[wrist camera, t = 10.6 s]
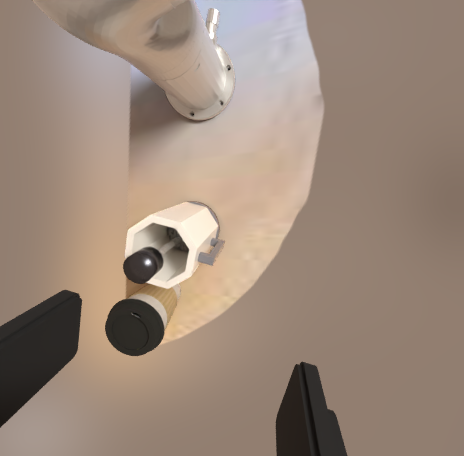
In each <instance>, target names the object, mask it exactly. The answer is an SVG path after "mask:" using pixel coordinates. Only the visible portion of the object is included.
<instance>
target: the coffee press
mask: <svg viewBox="0 0 464 456" xmlns="http://www.w3.org/2000/svg"><path fill="white" fill-rule="evenodd" d="M168 227H171V228H175V229H176V230H177V231H178V233H179V234H180V236H181V237H182V239H183V240H184V242H185V243H186V245H187V247H188V248H189V251H183V250H180V249H178V248H177V247H175V246H174V247H172V248H171V249H170V250H169V251H167V252H166V253H165V254H164V255H162V257H163V261H164V263H163V267H162V269H161V270H160V271H159V272H158V273H156V274H155V275H154V276H153V277H152V278H151V279H150V280H149V281H148V282H146V283H149V284H153V285H156V286H159V287H163V288H166V289H169V288H171V287H172V286H174V285H176V284H178V283H180V282H182V281H183V280H185V279H187V278H189V277H191V276H192V274H193V273H194V272H195V270H196V269H197V267H198V266H199V265H200V263H205V264H208V265H212V266H213V264H214V262H215V261H216V259H217V257H218V256H219V254H220V252H221V251H222V249H223V247H224V243H225V241H223V240H219V239H218V236H219V230H220V227H219V221H218V219H217V216H216V215H215V213H214V212H213V211H212V209H211V208H209V207H208V206H207V205H205V204H203V203H200V202H196V201H188V202H184V203H181V204H179V205H176V206H173V207H171V208H168V209H165V210H162V211H160V212H157V213H154V214H151V215H149V216H148V217H146V218H145V219H143V220H142V221H140V222H139V223H137V224H136V225H134V226H133V227H131V228H130V229H128V232H127V240H126V248H125V259H126V258H127V257H129V256H130V255H132V254H133V253H135V252H137V251H138V250H140V249H142V248H144V247H153V248H155V249H157V250H158V249H160V248H161V247H163V246H164V245H165V244H167V243H168V242H170V241H171V240H170V238H169V235H168ZM213 246H214V248H213V249H212V247H213ZM211 249H212V251H211V252H210V254H208V253H209V251H210V250H211Z"/></svg>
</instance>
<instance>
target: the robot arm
mask: <svg viewBox="0 0 464 456" xmlns="http://www.w3.org/2000/svg"><path fill="white" fill-rule="evenodd" d="M32 1H33V2H34V3H35V4H36V5H37V6H38V7H39V8H40V9H41V10H42V11H43V12H44V13H45V14H46V15H47V16H48V17H49V18H50V19H52V20H53V21H54V22H55V23H57V24H58V25H59V26H60V27H62V28H63V29H64V30H66V31H67V32H69V33H70V34H72V35H74V36H75V37H77V38H79V39H80V40H82V41H84V42H86V43H88V44H90V45H92V46H94V47H97V48H99V49H101V50H104V51H107V52H109V53H112V54H115V55H118V56H119V57H121V58H123V59H125V60H126V61H128V62H129V63H130V64H132V65H133V66H134V67H136V68H137V69H138V70H140V71H141V72H142V73H143V74H144V75H146V76H147V77H148V78H150V79H151V80H152V81H153V82H155V83H156V84H157V85H159V86H160V87H161V88H162V89H164V90H165V94H166V96H167V99H168V101H169V102H170V104H171V105H172V107H173V108H174V109H175V110H176V111H177V112H178V113H180V114H181V115H183V116H185V117H187V118H189V119H192V120H207V119H210V118H213V117H215V116H216V115H218V114H219V113H220V112H222V111H223V110H224V109H225V107H226V106H227V105H228V103H229V102H230V100H231V98H232V95H233V92H234V87H235V72H234V68H233V65H232V62H231V59H230V58H229V56H228V54H227V53H226V51H225V50H224V49H223V48H222V47H221V46H220V45H219V44H217V39H218V37H217V36H216V31H217V28H218V24H219V18H220V12H219V11H217V10H216V9H212V8H211V9H208V14H207V20H206V25H205V23H204V21H203V18H202V16H201V14H200V11H199V9H198V7H197V4H196V2H195V0H32ZM229 68H230V70H229V71H228V69H229ZM221 103H223V105H222V106H221ZM192 114H194V116H192ZM81 305H82V299H81V298H80V296H79V294H77V293H74V292H71V291H68V290H63V291H61V292H59V293H57V294H56V295H54V296H52V297H50V298H49V299H47V300H45V301H43V302H42V303H40V304H38V305H37V306H35V307H33V308H31V309H30V310H28V311H26V312H25V313H23V314H21V315H19V316H18V317H16V318H14V319H12V320H11V321H9V322H7V323H5V324H4V325H2V326H0V427H1V426H2V425H3V424H4V423H6V422H7V421H8V420H9V419H10V418H11V417H12V416H13V415H14V414H15V413H16V412H17V411H18V410H19V409H20V408H21V407H22V406H23V405H24V404H25V403H27V401H29V400H30V399H31V398H32V397H33V396H34V395H35V394H36V393H37V392H38V391H39V390H40V389H41V388H42V387H43V386H44V385H45V384H46V383H47V382H48V381H50V380H51V379H52V378H53V377H54V376H55V375H56V374H57V373H58V372H59V371H60V370H61V369H62V368H63V367H64V366H65V365H66V364H67V363H68V362H69V361H71V359H73V357H74V356H75V354H76V352H77V349H78V340H79V328H80V317H81ZM276 446H277V456H347V453H346V450H345V446H344V442H343V439H342V435H341V431H340V428H339V425H338V421H337V417H336V415H335V413H334V411H332V410H329V409H327V405H326V401H325V397H324V393H323V389H322V385H321V381H320V377H319V373H318V369H317V367H316V366H315V365H311V364H308V363H305V362H301V363H300V365H298V364H296V365H295V367H294V370H293V372H292V375H291V378H290V381H289V383H288V386H287V389H286V392H285V395H284V397H283V400H282V403H281V406H280V408H279V411H278V414H277V419H276Z"/></svg>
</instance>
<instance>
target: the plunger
mask: <svg viewBox="0 0 464 456" xmlns="http://www.w3.org/2000/svg"><path fill="white" fill-rule="evenodd" d="M168 235H169V238H170V240H171V241H170V242H168V243H167V244H165V245H164V246H163V247H161V248H160V249H158V250H157V249H155V248H153V247H144V248H142V249H140V250H138V251H137V252H135V253H133V254H132V255H130V256H129V257H127V258H126V260H125V261H124V265H123V269H124V273H125V275H126V276H127V278H128V279H129V280H131V281H132V282H134V283H138V284H143V283H146V282H148V281H149V280H150V279H151V278H152V277H153V276H154V275H155V274H156V273H158V272H159V271H160V270H161V269H162V267H163V263H164V261H163V257H162V255H164V254H165V253H166V252H167V251H169V250H170V249H171V248H172V247H174V246H175V247H177V248H178V249H180V250H183V251H189V248H188V247H187V245H186V243H185V242H184V240H183V239H182V237H181V236H180V234H179V233H178V231H177V230H176V229H175V228H171V227H168Z"/></svg>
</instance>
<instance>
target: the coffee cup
mask: <svg viewBox="0 0 464 456" xmlns="http://www.w3.org/2000/svg"><path fill="white" fill-rule="evenodd" d="M180 294H181V287H180V285H179V283H178V284H176V285H174V286H172V287H171V288H169V289H166V288H163V287H159V286H156V285H153V284H148V285H146V286H145V287H143V288H142V289H140V290H139V291H137V292H136V293H134V294H132V295H131V296H130V297H128V298H127V299H124V300H122V301H119V302H118V303H116V304H115V305H114V306H113V308H112V309H111V311H110V313H109V315H108V319H107V321H106V325H105V331H106V335H107V338H108V340H109V341H110V343H111V344H112V345H113V346H114V347H115V348H116V349H117V350H118V351H120V352H122V353H124V354H126V355H130V356H139V355H143V354H146V353H147V352H149V351H152V350H153V349H154V348H156V347H157V346H158V345H159V344H160V343H161V341H162V339H163V336H164V330H165V329H166V327H167V325H168V323H169V321H170V318H171V316H172V314H173V312H174V310H175V307H176V305H177V301H178V299H179V297H180Z"/></svg>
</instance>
